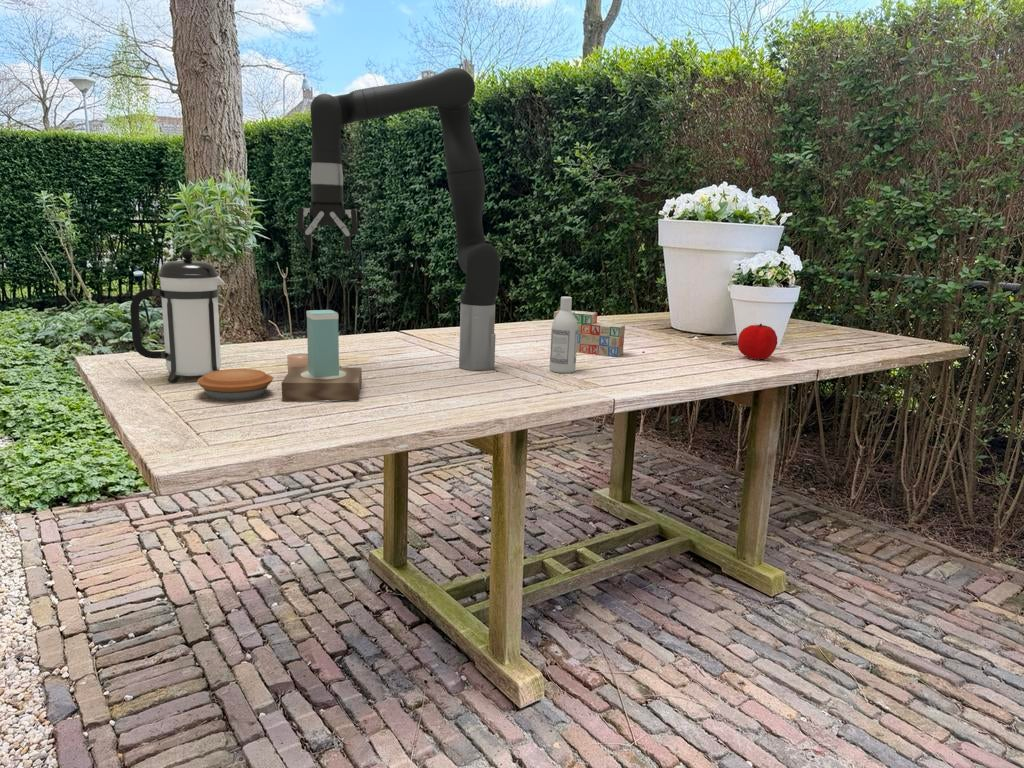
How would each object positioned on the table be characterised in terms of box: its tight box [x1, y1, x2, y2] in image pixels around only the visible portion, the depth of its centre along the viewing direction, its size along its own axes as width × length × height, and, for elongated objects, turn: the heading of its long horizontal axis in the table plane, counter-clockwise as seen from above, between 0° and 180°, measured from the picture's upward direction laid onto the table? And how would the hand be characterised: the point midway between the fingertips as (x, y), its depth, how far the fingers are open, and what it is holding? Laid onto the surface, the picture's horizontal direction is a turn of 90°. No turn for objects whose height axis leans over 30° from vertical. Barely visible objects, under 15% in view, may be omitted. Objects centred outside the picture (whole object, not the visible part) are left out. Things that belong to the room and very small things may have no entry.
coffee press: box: [129, 249, 226, 384], centre depth 171 cm, size 17×16×30 cm
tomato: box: [737, 323, 778, 360], centre depth 227 cm, size 12×12×11 cm
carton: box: [305, 309, 340, 377], centre depth 163 cm, size 6×6×14 cm
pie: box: [197, 368, 274, 402], centre depth 161 cm, size 16×16×5 cm
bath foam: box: [549, 296, 578, 374], centre depth 196 cm, size 7×7×20 cm
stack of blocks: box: [553, 309, 626, 358], centre depth 227 cm, size 21×6×12 cm, turn 66°
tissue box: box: [281, 366, 363, 402], centre depth 165 cm, size 16×16×4 cm
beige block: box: [286, 352, 308, 373], centre depth 176 cm, size 6×6×6 cm
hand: (328, 251), depth 181 cm, fingers open, 8 cm apart
